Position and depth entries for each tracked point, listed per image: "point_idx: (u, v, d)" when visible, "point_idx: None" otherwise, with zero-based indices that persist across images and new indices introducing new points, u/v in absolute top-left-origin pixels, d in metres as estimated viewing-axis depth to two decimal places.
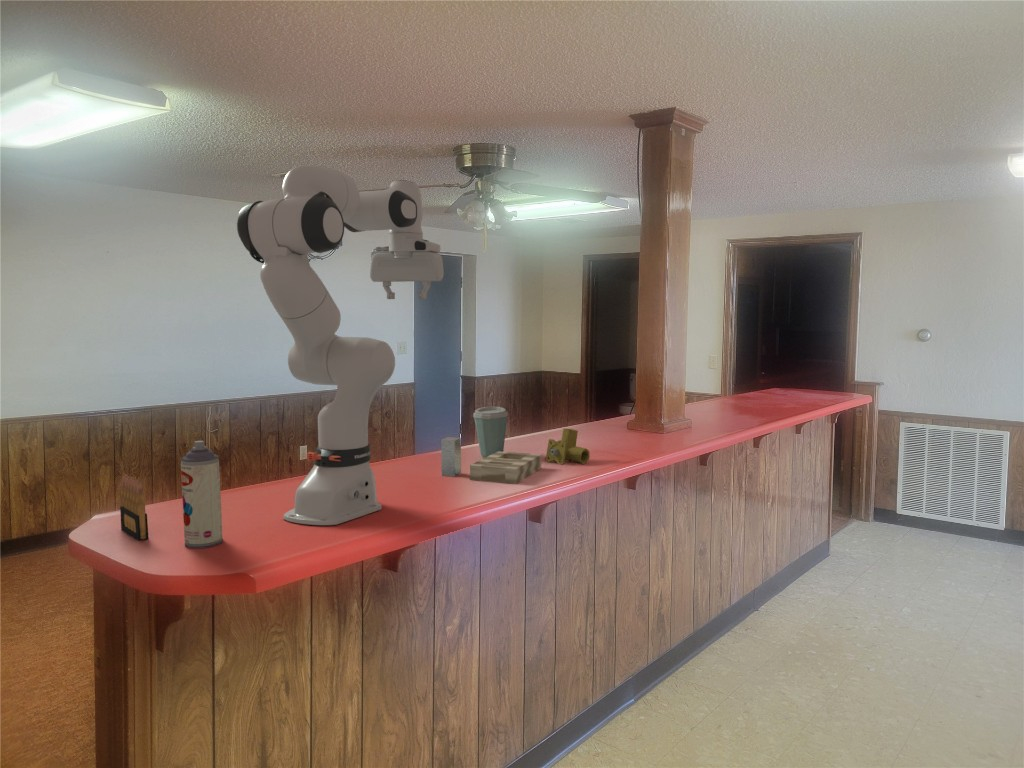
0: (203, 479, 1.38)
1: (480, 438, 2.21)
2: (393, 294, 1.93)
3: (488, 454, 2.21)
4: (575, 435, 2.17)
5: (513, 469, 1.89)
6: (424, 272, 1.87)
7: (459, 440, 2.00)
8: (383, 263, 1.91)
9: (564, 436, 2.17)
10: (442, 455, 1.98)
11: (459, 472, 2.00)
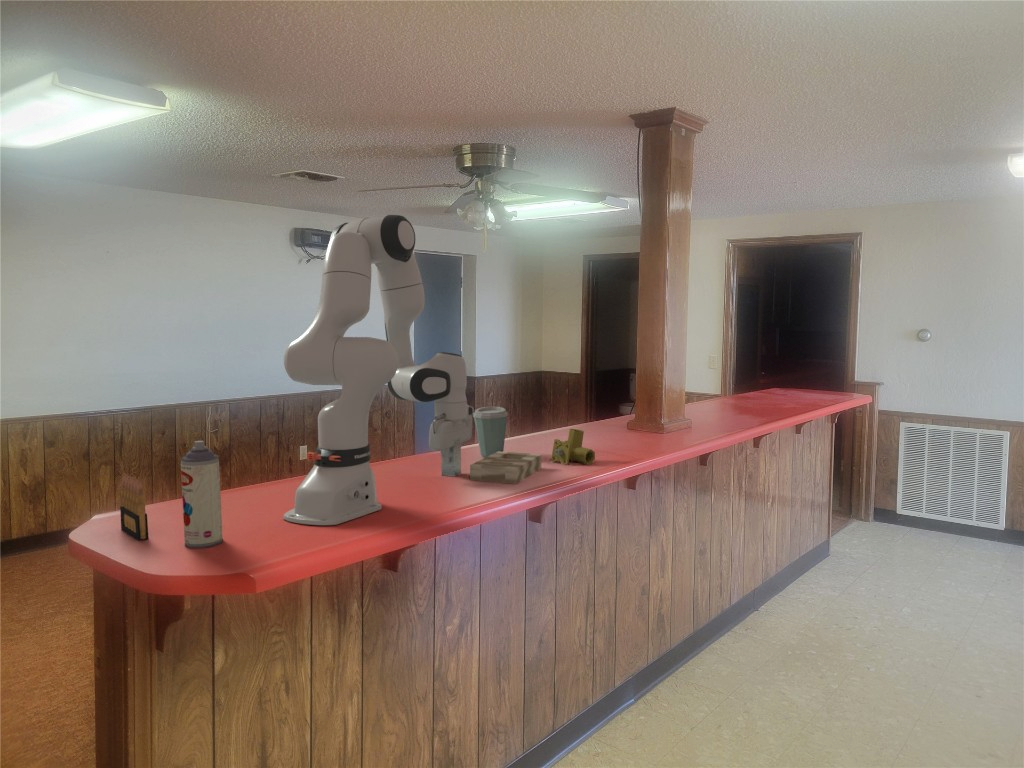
0: (203, 479, 1.38)
1: (480, 438, 2.21)
2: None
3: (488, 454, 2.21)
4: (581, 436, 2.16)
5: (513, 469, 1.89)
6: (466, 434, 2.04)
7: (459, 440, 2.00)
8: (446, 431, 1.93)
9: (570, 436, 2.16)
10: None
11: (459, 472, 2.00)
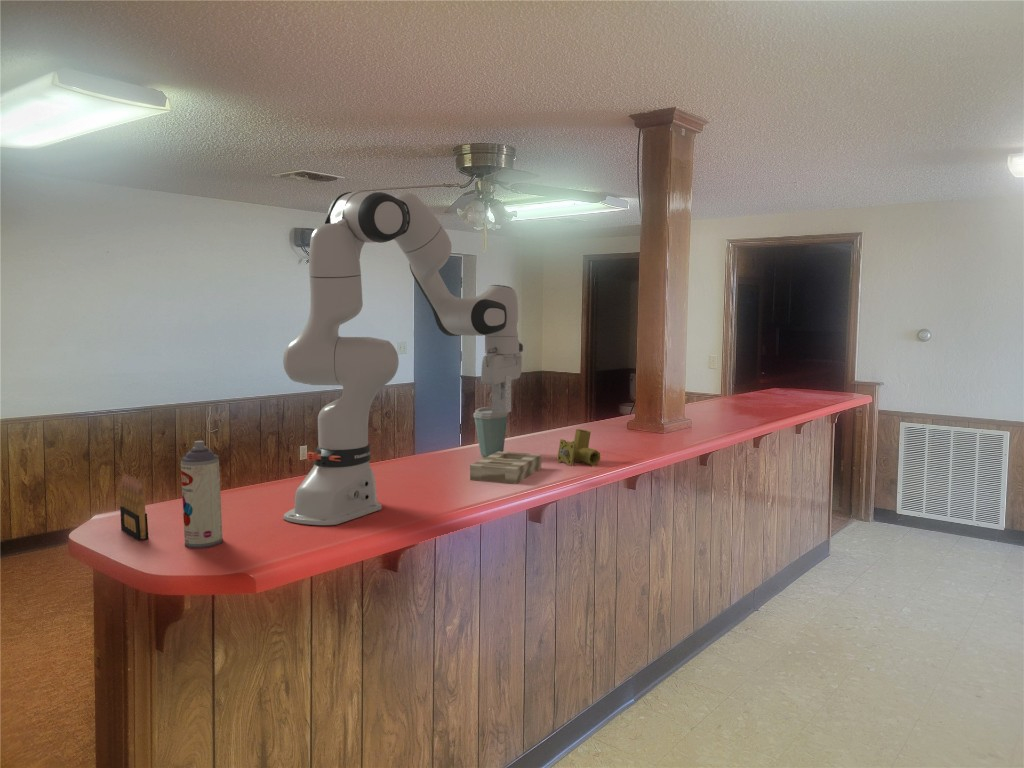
0: (203, 479, 1.38)
1: (480, 438, 2.21)
2: None
3: (488, 454, 2.21)
4: (587, 436, 2.15)
5: (513, 469, 1.89)
6: (516, 371, 1.99)
7: (510, 376, 1.95)
8: (498, 365, 1.88)
9: (576, 437, 2.15)
10: (492, 391, 1.94)
11: (509, 409, 1.95)
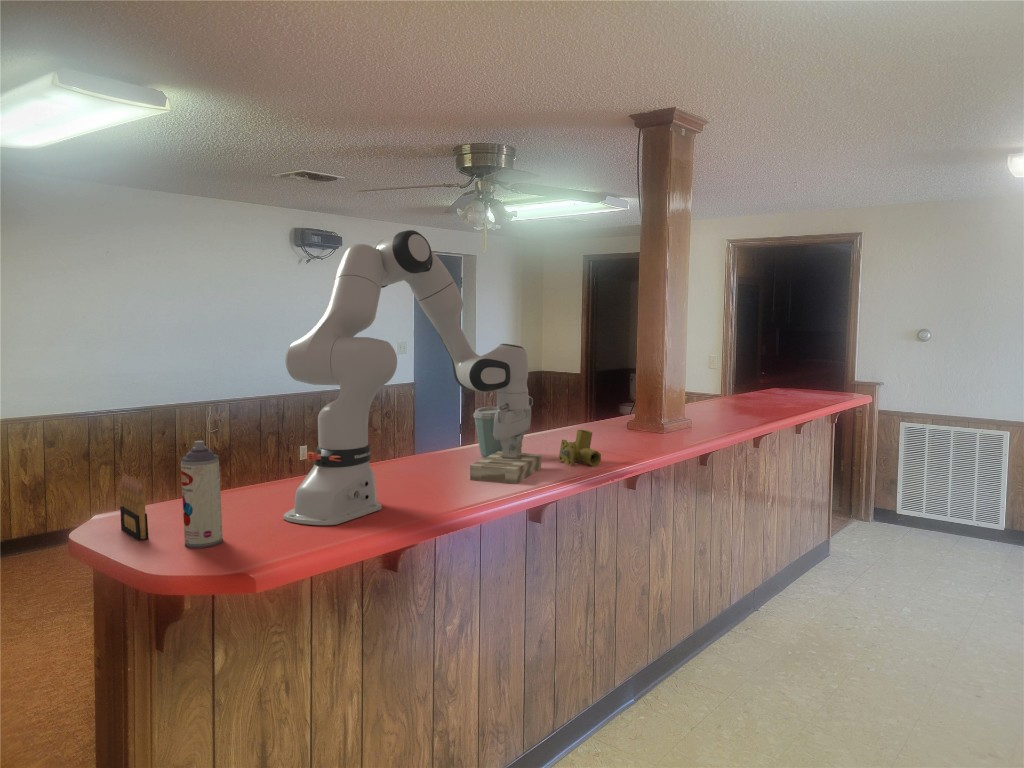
0: (203, 479, 1.38)
1: (480, 438, 2.21)
2: None
3: (488, 454, 2.21)
4: (588, 437, 2.14)
5: (513, 469, 1.89)
6: (526, 424, 2.09)
7: (520, 437, 2.04)
8: (510, 420, 1.98)
9: (577, 437, 2.15)
10: None
11: None
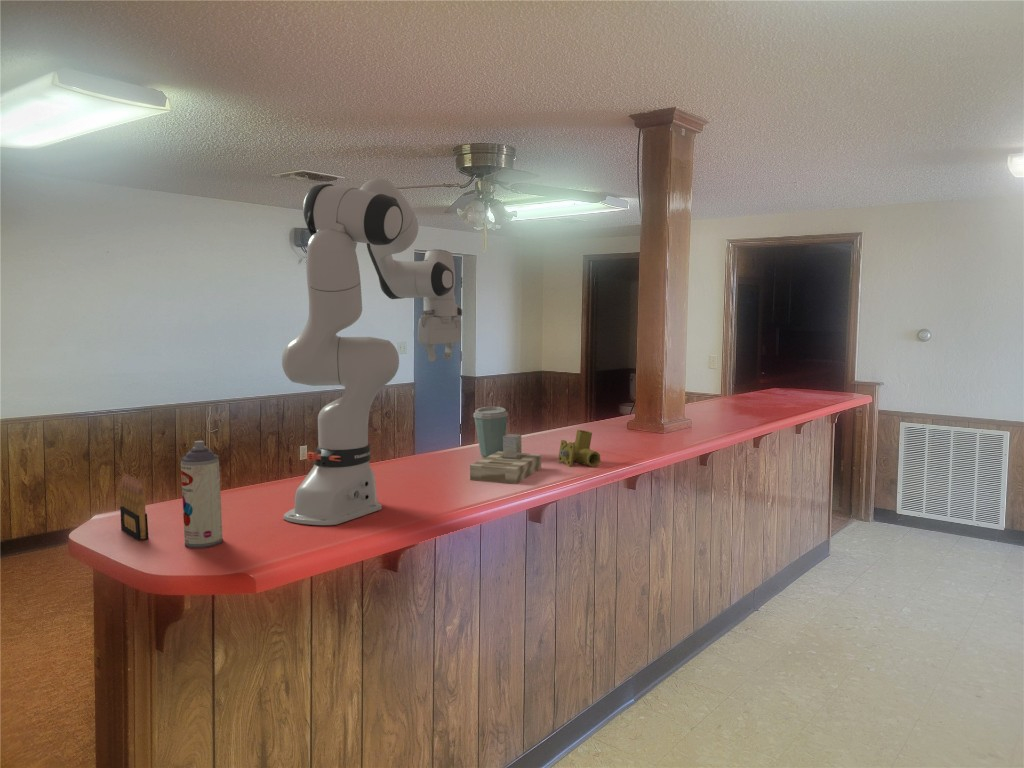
0: (203, 479, 1.38)
1: (480, 438, 2.21)
2: None
3: (488, 454, 2.21)
4: (588, 437, 2.13)
5: (513, 469, 1.89)
6: (455, 335, 2.07)
7: (520, 437, 2.04)
8: (435, 326, 1.96)
9: (577, 438, 2.14)
10: (504, 451, 2.03)
11: None
